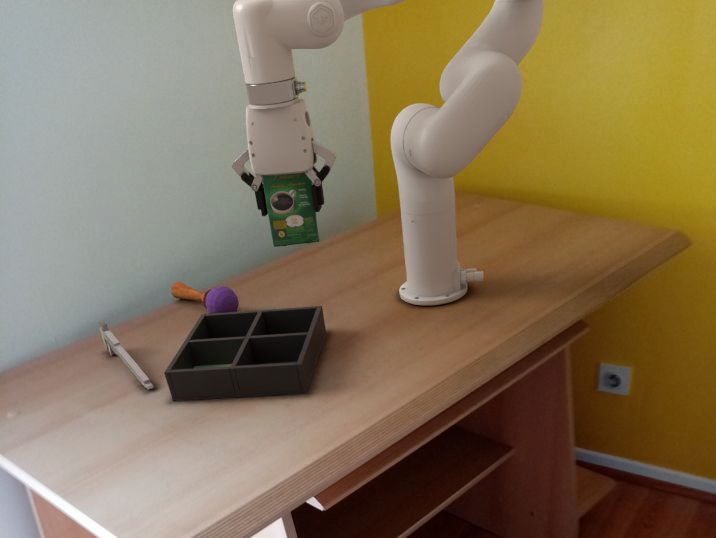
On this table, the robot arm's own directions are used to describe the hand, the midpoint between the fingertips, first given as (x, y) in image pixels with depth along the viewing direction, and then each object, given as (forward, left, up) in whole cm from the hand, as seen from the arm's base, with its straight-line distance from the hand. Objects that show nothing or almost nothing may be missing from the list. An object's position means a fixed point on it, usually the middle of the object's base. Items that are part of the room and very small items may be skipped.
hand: (292, 211), depth 125 cm
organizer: (+7, +15, -20) cm, 26 cm away
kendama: (+22, -10, -20) cm, 31 cm away
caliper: (+29, +14, -20) cm, 38 cm away
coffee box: (0, 0, -5) cm, 5 cm away
